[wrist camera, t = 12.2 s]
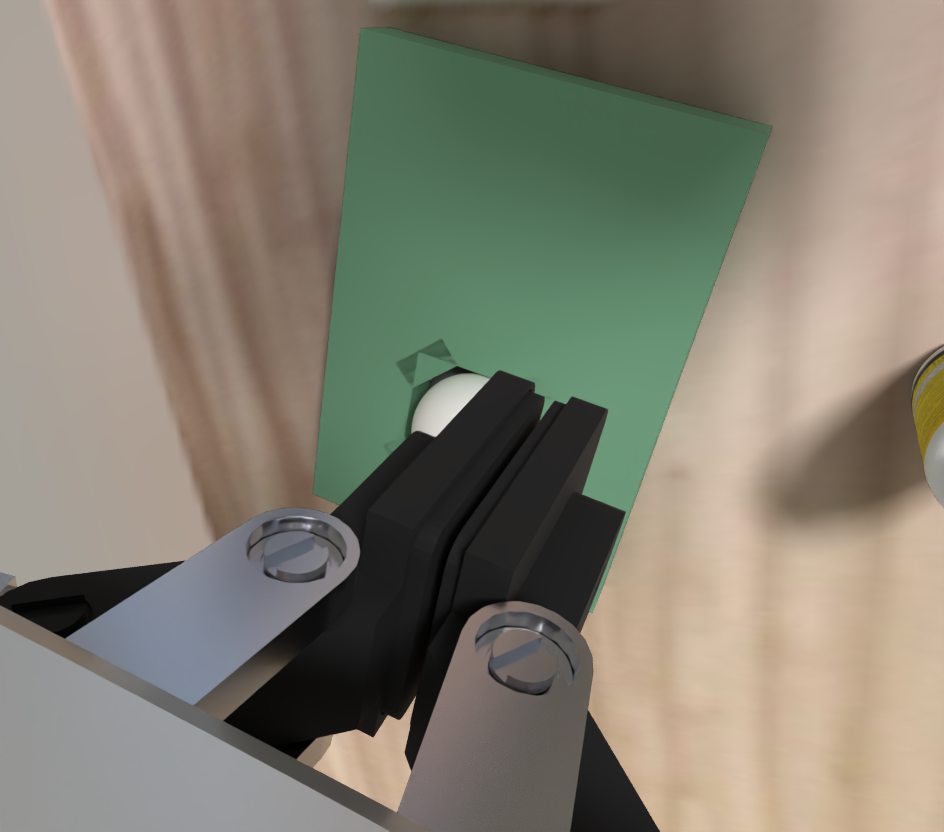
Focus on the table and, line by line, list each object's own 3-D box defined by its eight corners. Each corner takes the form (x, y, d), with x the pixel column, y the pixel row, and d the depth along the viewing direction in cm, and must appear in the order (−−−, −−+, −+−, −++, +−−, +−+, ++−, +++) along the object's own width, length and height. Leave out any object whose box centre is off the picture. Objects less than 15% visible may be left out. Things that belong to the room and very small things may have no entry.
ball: (411, 471, 44) (451, 372, 45) (510, 511, 43) (550, 408, 43) (378, 457, 39) (425, 344, 39) (490, 502, 37) (538, 384, 38)
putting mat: (387, 26, 37) (360, 28, 35) (772, 126, 33) (768, 134, 31) (334, 473, 50) (312, 493, 48) (603, 586, 46) (592, 613, 44)
